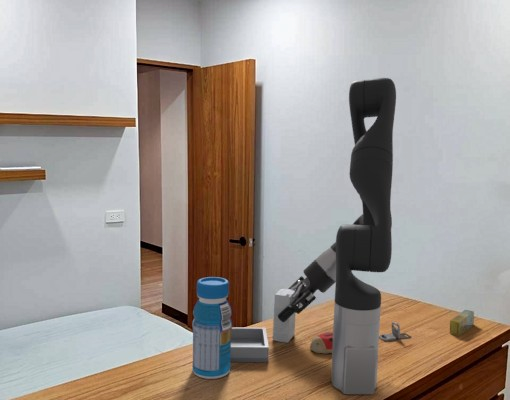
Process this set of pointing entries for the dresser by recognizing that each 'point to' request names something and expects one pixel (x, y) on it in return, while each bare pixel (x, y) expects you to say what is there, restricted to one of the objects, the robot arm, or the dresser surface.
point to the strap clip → (394, 334)
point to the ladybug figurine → (322, 343)
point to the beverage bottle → (212, 329)
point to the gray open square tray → (249, 345)
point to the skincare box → (280, 329)
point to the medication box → (462, 322)
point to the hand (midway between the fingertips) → (278, 314)
